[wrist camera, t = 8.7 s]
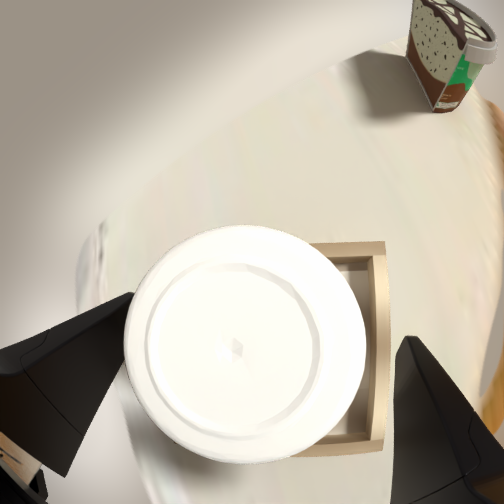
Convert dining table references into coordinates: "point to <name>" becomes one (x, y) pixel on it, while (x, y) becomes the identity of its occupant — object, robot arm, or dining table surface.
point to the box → (377, 350)
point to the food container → (447, 50)
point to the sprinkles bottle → (244, 344)
